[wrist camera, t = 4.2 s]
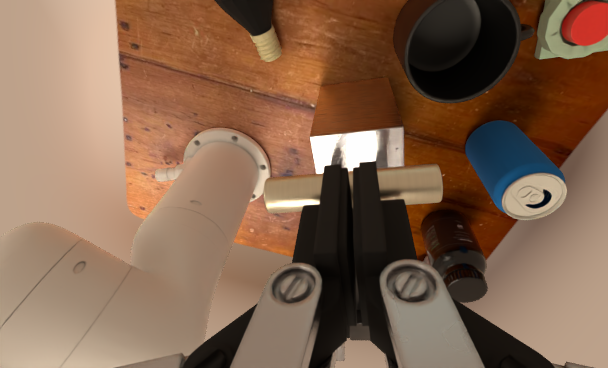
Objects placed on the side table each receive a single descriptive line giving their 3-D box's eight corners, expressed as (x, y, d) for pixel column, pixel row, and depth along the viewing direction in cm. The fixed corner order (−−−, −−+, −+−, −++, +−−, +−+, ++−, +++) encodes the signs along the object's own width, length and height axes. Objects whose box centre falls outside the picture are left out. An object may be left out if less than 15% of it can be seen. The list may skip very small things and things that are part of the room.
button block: (526, 57, 37) (539, 65, 34) (540, -16, 33) (555, -14, 30) (607, 46, 35) (627, 53, 33) (631, -32, 31) (656, -31, 29)
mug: (503, 67, 37) (541, 95, 30) (392, 79, 39) (402, 108, 32) (520, -32, 32) (572, -28, 25) (392, -12, 34) (405, -3, 27)
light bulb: (276, 78, 35) (221, -53, 27) (235, 73, 39) (176, -42, 31) (312, 43, 38) (272, -85, 30) (270, 42, 42) (225, -71, 34)
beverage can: (492, 171, 45) (533, 232, 35) (452, 150, 44) (483, 207, 34) (531, 132, 41) (588, 188, 31) (489, 108, 40) (534, 158, 30)
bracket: (320, 85, 41) (278, 281, 16) (387, 76, 39) (452, 276, 15) (330, 156, 46) (310, 383, 22) (390, 151, 45) (440, 387, 20)
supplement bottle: (478, 217, 49) (510, 283, 39) (450, 247, 53) (473, 314, 43) (436, 201, 48) (459, 264, 39) (411, 233, 52) (426, 297, 42)
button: (557, 44, 33) (566, 48, 32) (566, 4, 31) (576, 6, 30) (598, 38, 33) (609, 42, 31) (610, -3, 31) (623, -1, 29)
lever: (268, 160, 13) (258, 210, 11) (433, 144, 12) (449, 197, 10) (320, 302, 22) (319, 340, 21) (414, 300, 21) (421, 341, 19)
